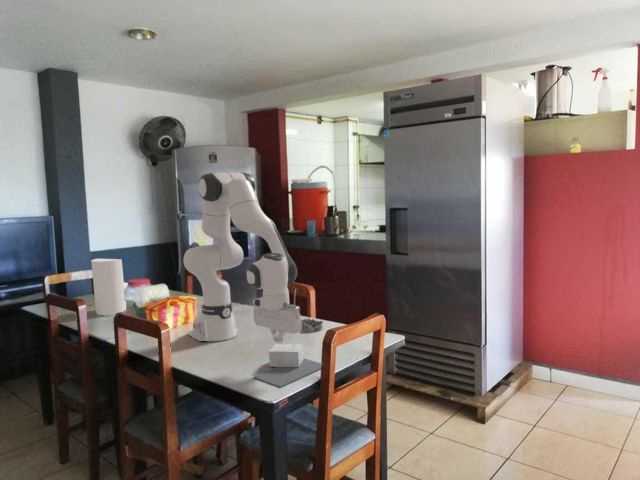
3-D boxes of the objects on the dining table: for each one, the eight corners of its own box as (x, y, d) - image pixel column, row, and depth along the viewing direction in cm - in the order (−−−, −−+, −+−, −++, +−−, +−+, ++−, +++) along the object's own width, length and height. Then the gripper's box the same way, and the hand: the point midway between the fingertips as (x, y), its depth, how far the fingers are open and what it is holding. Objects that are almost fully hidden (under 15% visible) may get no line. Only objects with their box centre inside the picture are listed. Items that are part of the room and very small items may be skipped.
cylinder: (112, 317, 246) (107, 262, 243) (88, 314, 253) (83, 261, 250) (139, 308, 261) (134, 256, 258) (115, 306, 269) (111, 256, 266)
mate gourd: (288, 326, 217) (287, 293, 215) (282, 322, 224) (280, 290, 222) (304, 323, 220) (302, 291, 218) (297, 319, 227) (296, 287, 225)
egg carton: (324, 330, 209) (324, 321, 209) (307, 333, 206) (307, 324, 206) (315, 324, 219) (314, 315, 218) (299, 326, 216) (299, 317, 216)
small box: (269, 366, 168) (298, 367, 166) (268, 351, 167) (298, 351, 165) (275, 358, 176) (304, 359, 174) (275, 343, 175) (303, 344, 173)
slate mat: (253, 377, 160) (253, 376, 160) (300, 358, 176) (300, 357, 176) (280, 387, 151) (280, 386, 151) (327, 366, 167) (327, 365, 167)
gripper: (304, 303, 160) (307, 344, 162) (263, 296, 174) (265, 334, 175) (291, 307, 155) (293, 350, 157) (249, 300, 169) (251, 339, 171)
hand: (278, 341), depth 166 cm, fingers closed
